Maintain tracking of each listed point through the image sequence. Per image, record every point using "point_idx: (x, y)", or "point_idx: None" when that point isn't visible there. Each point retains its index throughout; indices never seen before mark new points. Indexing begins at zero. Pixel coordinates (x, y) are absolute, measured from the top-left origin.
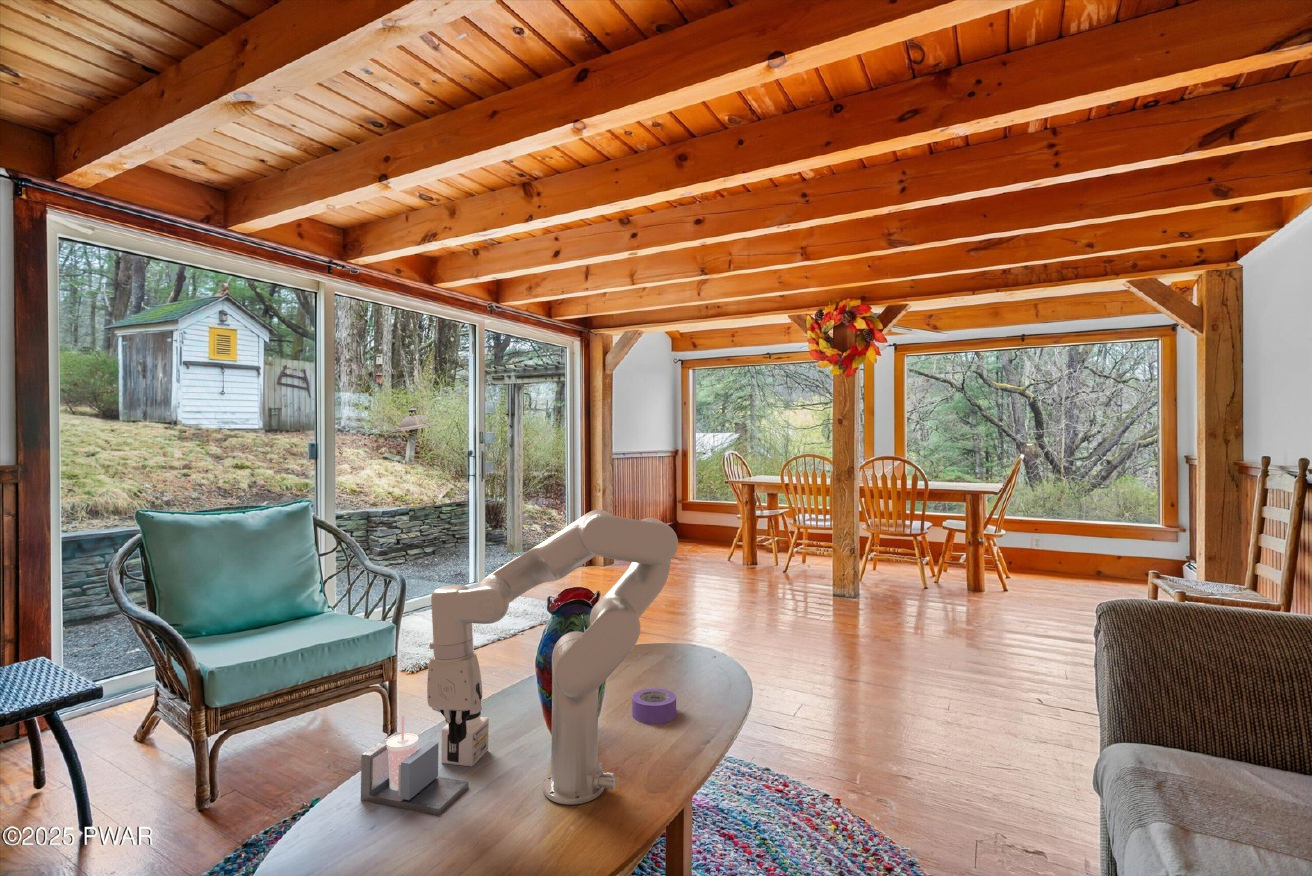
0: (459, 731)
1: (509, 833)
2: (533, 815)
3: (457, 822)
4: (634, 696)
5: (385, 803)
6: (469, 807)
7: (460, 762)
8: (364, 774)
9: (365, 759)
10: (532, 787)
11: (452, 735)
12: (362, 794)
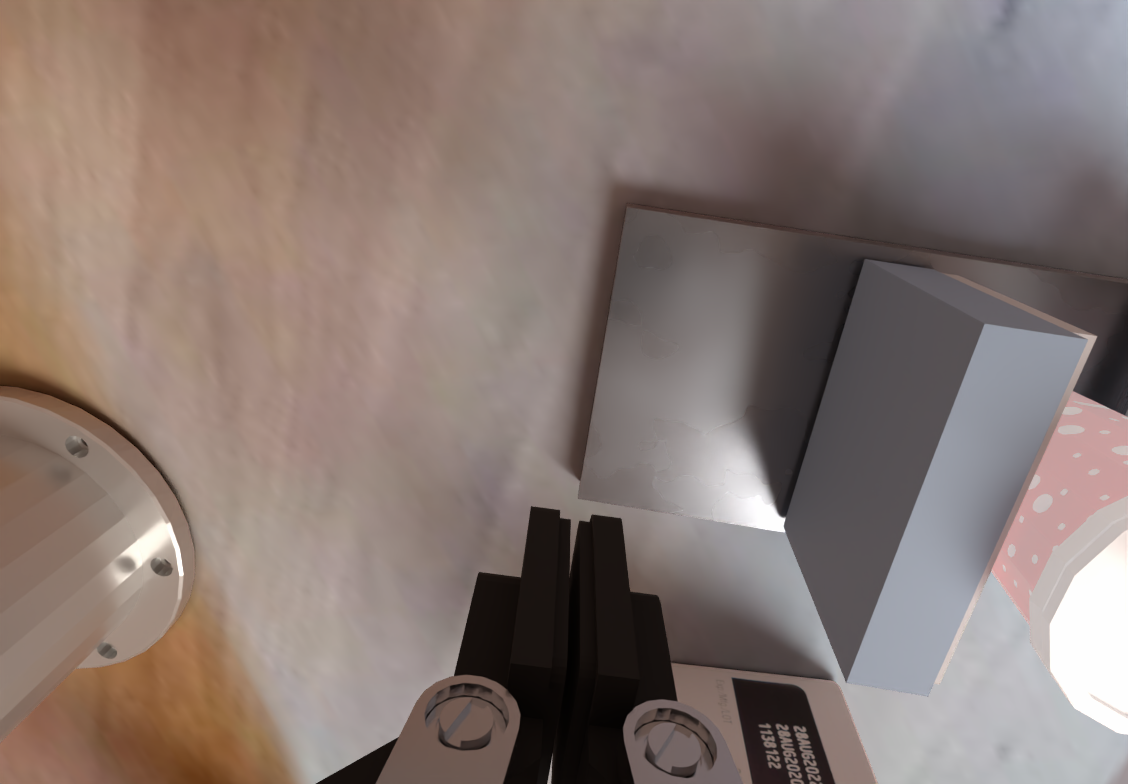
0: (503, 619)
1: (136, 90)
2: (108, 279)
3: (482, 150)
4: None
5: (1022, 264)
6: (486, 305)
7: (720, 677)
8: None
9: None
10: (250, 516)
11: (589, 570)
12: None
